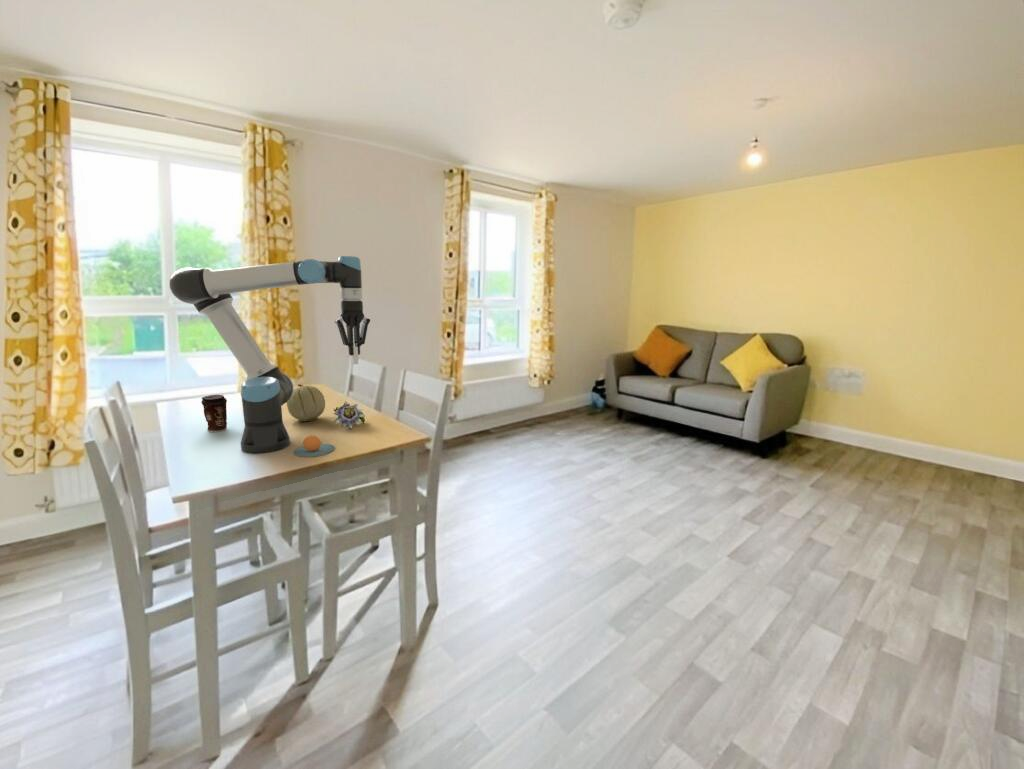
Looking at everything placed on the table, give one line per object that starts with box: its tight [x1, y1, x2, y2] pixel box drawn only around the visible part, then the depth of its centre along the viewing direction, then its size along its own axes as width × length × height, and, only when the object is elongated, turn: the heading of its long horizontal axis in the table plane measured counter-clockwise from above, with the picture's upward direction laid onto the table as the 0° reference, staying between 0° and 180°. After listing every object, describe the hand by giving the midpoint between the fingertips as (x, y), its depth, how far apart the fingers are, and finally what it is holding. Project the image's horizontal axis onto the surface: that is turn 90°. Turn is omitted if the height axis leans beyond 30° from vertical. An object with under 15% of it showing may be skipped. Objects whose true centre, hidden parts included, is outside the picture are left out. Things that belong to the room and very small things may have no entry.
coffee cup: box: [200, 394, 228, 433], centre depth 179 cm, size 9×8×13 cm
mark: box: [293, 442, 336, 458], centre depth 161 cm, size 13×13×1 cm
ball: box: [302, 434, 322, 452], centre depth 159 cm, size 6×6×6 cm
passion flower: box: [333, 401, 366, 429], centre depth 188 cm, size 11×11×12 cm
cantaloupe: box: [286, 383, 326, 422], centre depth 193 cm, size 15×15×15 cm
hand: (355, 363), depth 177 cm, fingers closed
